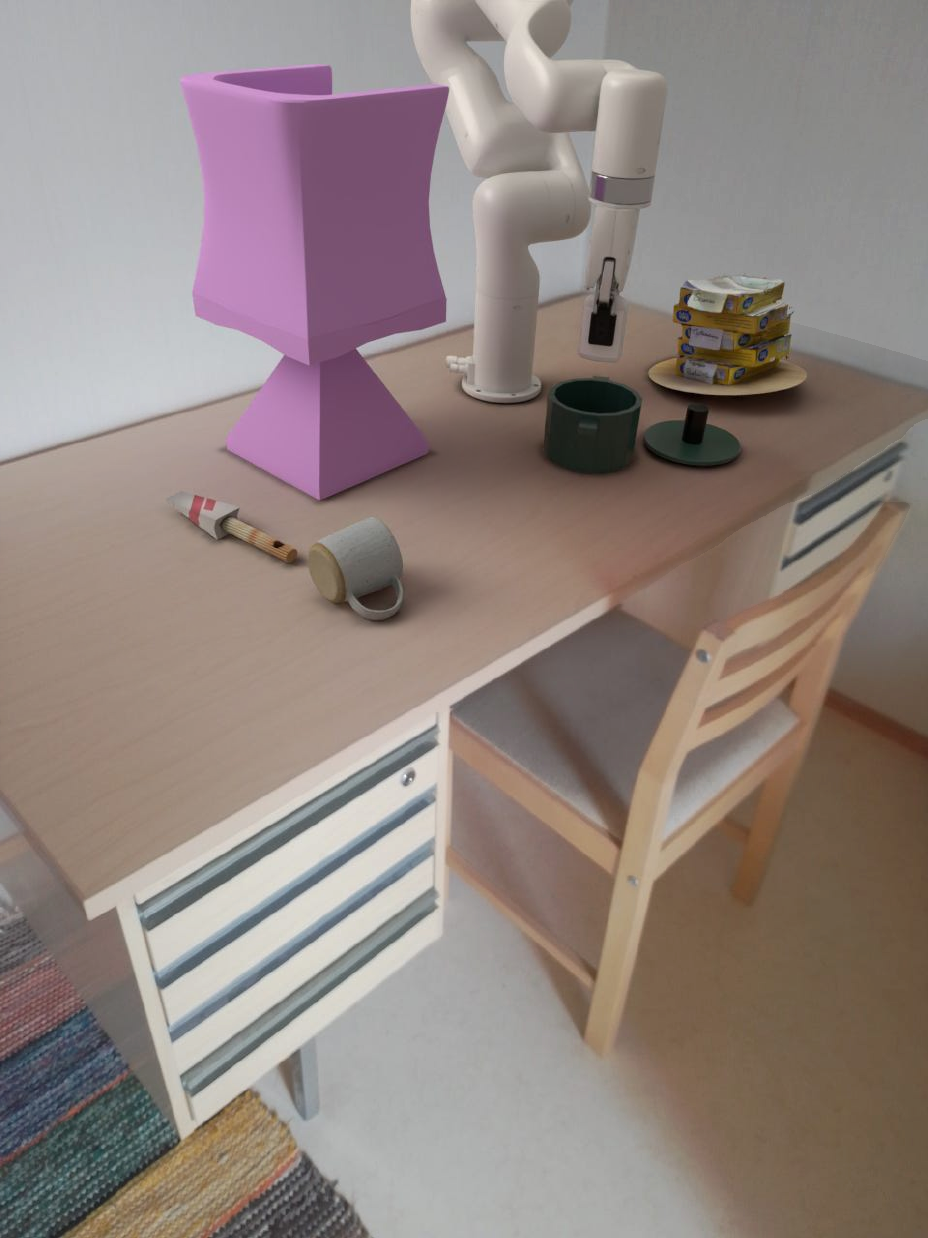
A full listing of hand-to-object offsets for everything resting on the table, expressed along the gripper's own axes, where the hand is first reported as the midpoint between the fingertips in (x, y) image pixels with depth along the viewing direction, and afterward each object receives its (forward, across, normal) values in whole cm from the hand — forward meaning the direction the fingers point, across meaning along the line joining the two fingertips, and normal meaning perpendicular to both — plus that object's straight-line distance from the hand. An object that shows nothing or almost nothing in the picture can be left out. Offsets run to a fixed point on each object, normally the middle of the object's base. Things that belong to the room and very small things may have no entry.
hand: (601, 337), depth 125 cm
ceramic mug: (+17, +42, -20) cm, 49 cm away
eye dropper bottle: (+3, 0, 0) cm, 3 cm away
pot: (+17, 0, 0) cm, 17 cm away
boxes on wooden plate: (+17, -32, +19) cm, 41 cm away
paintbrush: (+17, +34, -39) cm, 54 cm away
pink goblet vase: (+17, +10, -35) cm, 40 cm away
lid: (+16, -6, +14) cm, 22 cm away
